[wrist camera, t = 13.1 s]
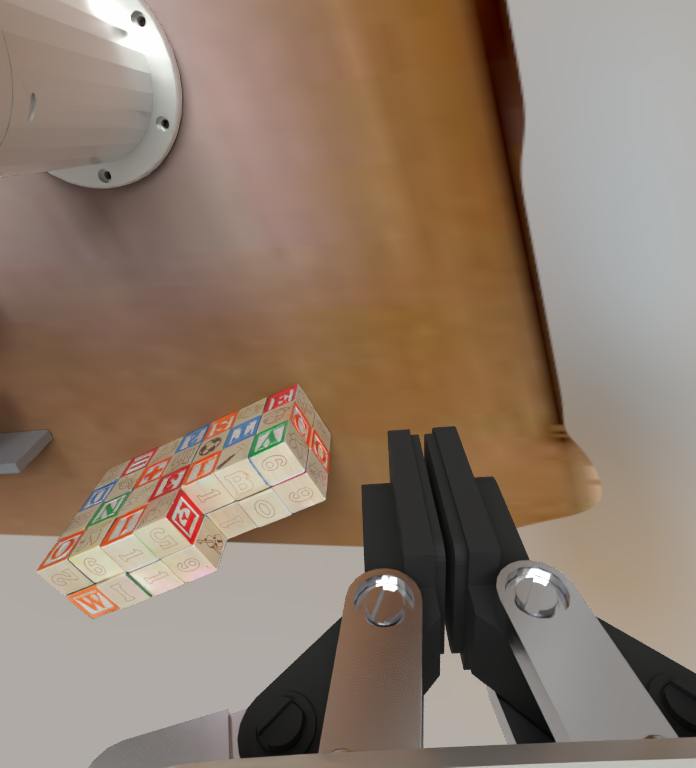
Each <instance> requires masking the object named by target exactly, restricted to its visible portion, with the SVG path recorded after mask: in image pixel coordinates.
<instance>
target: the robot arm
mask: <svg viewBox="0 0 696 768" xmlns="http://www.w3.org/2000/svg"><path fill="white" fill-rule="evenodd" d="M141 18H145V20H146V24H145V26H144V27H142V26H141V24H140V20H141ZM181 116H182V89H181V81H180V73H179V70H178V66H177V63H176V59H175V56H174V52H173V50H172V48H171V45H170V43H169V41H168V39H167V37H166V34H165V32H164V30H163V28H162V27H161V25H160V24H159V22H158V21H157V19H156V18H155V16H154V15H153V13H152V11H151V10H150V8H149V7H148V6H147V5H146V4H145V3H144V2H143V1H142V0H0V177H8V176H15V175H23V174H30V173H38V172H45V171H46V172H48V173H49V174H51V175H53V176H55V177H57V178H59V179H62V180H64V181H66V182H68V183H71V184H75V185H79V186H83V187H87V188H101V189H106V188H113V187H120V186H124V185H128V184H131V183H134V182H136V181H138V180H140V179H142V178H144V177H146V176H148V175H149V174H150V173H151V172H152V171H153V170H155V169H156V168H157V167H158V166H159V165H160V164H161V163H162V161H163V160H164V159H165V157H166V156H167V155H168V153H169V152H170V150H171V148H172V146H173V143H174V141H175V139H176V136H177V134H178V129H179V125H180V120H181ZM165 120H167V121H168V122H169V128H166V127H165V126H164V121H165ZM108 171H109V173H110V174H111V179H110V178H109V177H108V176H107V172H108ZM388 450H389V470H390V483H384V484H368V485H362V512H363V538H364V563H365V573H364V574H362V575H361V576H359V577H358V578H356V579H355V581H354V582H353V583H352V584H351V585H350V587H349V589H348V592H347V595H346V599H345V605H344V610H343V616H342V617H341V618H340V619H339V620H338V621H337V622H336V623H335V624H334V625H333V626H331V627H330V628H329V629H328V630H327V631H326V632H325V633H324V634H323V635H322V636H321V637H320V638H319V639H318V640H317V641H316V642H315V643H313V644H312V645H311V646H310V647H309V648H308V649H307V650H306V651H305V652H304V653H303V654H302V655H301V656H300V657H299V658H298V659H297V660H296V661H294V663H292V664H291V665H290V666H289V667H288V668H287V669H286V670H285V671H284V672H283V673H282V674H281V675H280V676H279V677H278V678H276V680H275V681H273V682H272V683H271V684H270V685H269V686H268V687H267V688H266V689H265V690H264V691H263V692H262V693H261V694H260V695H259V696H258V697H256V699H255V700H254V701H253V702H252V703H251V705H250V706H249V707H248V708H247V709H246V710H243V711H240V712H236V713H233V714H229V711H228V709H227V710H223V711H220V712H216V713H213V714H210V715H206V716H203V717H200V718H197V719H193V720H190V721H186V722H183V723H180V724H176V725H173V726H170V727H167V728H163V729H160V730H157V731H153V732H150V733H147V734H143V735H140V736H137V737H133V738H130V739H126V740H123V741H121V742H119V743H117V744H115V745H113V746H111V747H109V748H107V749H106V750H105V751H104V752H103V753H101V754H100V755H99V756H98V757H97V758H96V759H95V760H94V761H93V762H92V764H91V765H90V766H89V768H696V673H694V672H692V671H690V670H689V669H687V668H685V667H683V666H682V665H680V664H678V663H676V662H675V661H673V660H671V659H669V658H668V657H666V656H664V655H662V654H661V653H659V652H657V651H655V650H654V649H652V648H650V647H648V646H647V645H645V644H643V643H641V642H640V641H638V640H636V639H634V638H633V637H631V636H629V635H627V634H626V633H624V632H622V631H620V630H619V629H617V628H615V627H613V626H612V625H610V624H608V623H606V622H605V621H603V620H601V619H599V618H597V617H596V616H595V615H594V614H593V612H592V610H591V609H590V608H589V606H588V605H587V603H586V602H585V600H584V599H583V597H582V596H581V594H580V593H579V592H578V590H577V589H576V587H575V586H574V584H573V583H572V582H571V581H570V580H569V579H568V578H567V577H566V575H565V574H563V573H562V572H560V571H559V570H557V569H556V568H554V567H552V566H550V565H548V564H545V563H543V562H537V561H532V560H529V557H528V555H527V553H526V550H525V548H524V546H523V544H522V541H521V539H520V536H519V534H518V531H517V529H516V527H515V524H514V522H513V520H512V517H511V515H510V513H509V510H508V508H507V506H506V503H505V501H504V498H503V496H502V494H501V491H500V489H499V487H498V484H497V482H496V480H495V478H493V477H477V478H474V476H473V473H472V471H471V468H470V465H469V462H468V460H467V457H466V454H465V451H464V449H463V446H462V443H461V440H460V438H459V435H458V432H457V429H456V427H455V426H451V427H437V428H433V429H432V434H425V436H424V456H423V452H422V448H421V443H420V439H419V435H411V434H410V430H409V429H408V430H393V431H388ZM444 626H446V631H447V636H448V640H449V646H450V650H451V653H460V655H461V659H462V664H463V669H464V670H471V672H472V674H473V675H475V676H476V677H477V678H478V679H479V680H481V681H482V682H483V683H485V684H486V685H487V690H488V694H489V698H490V701H491V704H492V706H493V709H494V711H495V714H496V716H497V719H498V721H499V724H500V726H501V729H502V731H503V734H504V737H505V739H506V742H507V744H508V745H488V746H466V747H443V748H423V738H424V737H423V736H424V727H423V726H424V694H425V693H426V692H427V691H428V690H429V688H430V687H431V686H432V684H433V683H434V682H435V681H436V679H437V678H438V677H439V676H440V654H444V630H445V627H444Z"/></svg>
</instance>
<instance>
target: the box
mask: <svg viewBox="0 0 696 768" xmlns="http://www.w3.org/2000/svg"><path fill="white" fill-rule="evenodd" d="M52 439H53V438H52V436H51V433H50V431H49V430H37V431H23V432H9V433H0V474H10V473H20V472H21V471H22V470H23V469H24V468H25V467H26V466H27V465H28V464H29V463H30V462H31V461H32V460H33V459H34V458H35V457H36V456H37V455H38V454H39V453H40V452H41V451H42V450H43V448H44V447H45V446H46V445H47V444H48V443H49V442H50V441H51V440H52Z"/></svg>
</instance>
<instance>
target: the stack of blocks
mask: <svg viewBox="0 0 696 768" xmlns="http://www.w3.org/2000/svg"><path fill="white" fill-rule="evenodd" d="M330 437H331V435H330V432H329V431H328V430H327V428H326V426H325V425H324V423H323V422H322V420H321V418H320V417H319V415H318V414H317V412H316V411H315V409H314V407H313V405H312V404H311V402H310V400H309V399H308V397H307V396H306V394H305V393H304V391H303V390H302V389H301V387H300V386H299V385H298V384H296V385H294V386H292V387H290V388H287V389H285V390H283V391H281V392H279V393H277V394H275V395H273V396H270V397H269V398H264V399H262V400H260V401H257V402H255V403H253V404H251V405H249V406H247V407H244V408H242V409H241V410H238V411H236V412H233V413H231V414H229V415H227V416H224V417H222V418H220V419H218V420H216V421H213V422H212V423H211V424H209V425H206V426H204V427H202V428H200V429H198V430H196V431H193V432H191V433H189V434H187V435H185V436H183V437H181V438H179V439H176V440H174V441H172V442H170V443H168V444H166V445H163V446H161V447H159V448H155V449H153V450H151V451H148V452H146V453H144V454H142V455H140V456H137V457H135V458H133V459H131V460H128V461H126V462H124V463H121V464H119V465H117V466H115V467H113V468H110V469H109V470H107V472H106V473H105V474H104V476H103V478H102V479H101V480H100V482H99V483H98V484H97V486H96V487H95V489H94V491H93V492H92V494H91V495H90V496H89V498H88V499H87V501H86V502H85V504H84V505H83V506H82V508H81V509H80V510H79V512H78V513H77V514H76V515H75V516H74V518H73V519H72V521H71V522H70V523H69V525H68V526H67V528H66V529H65V530H64V532H63V533H62V535H61V536H60V537H59V539H58V542H57V543H56V545H55V546H54V547H53V548H52V550H51V551H50V553H49V554H48V555H47V557H46V559H45V560H44V561H43V562H42V564H41V565H40V567H39V568H38V570H37V573H38V574H39V575H40V576H41V577H43V578H44V579H45V580H46V581H47V582H48V583H50V584H51V585H52V586H53V587H54V588H55V589H56V590H57V591H59V592H60V593H61V594H62V595H63V596H64V595H67V596H66V597H67V599H68V600H69V601H71V602H72V603H73V604H74V605H76V606H77V607H78V608H79V609H80V610H82V611H83V612H84V613H85V614H87V615H88V616H89V617H90V618H92V619H94V618H97V617H99V616H102V615H104V614H107V613H110V612H113V611H115V610H118V609H120V608H121V609H125V608H127V607H130V606H133V605H135V604H137V603H140V602H143V601H145V600H147V599H150V598H151V597H152V596H158V595H160V594H162V593H165V592H167V591H170V590H172V589H175V588H177V587H180V586H182V585H183V584H184V583H188V582H191V581H193V580H196V579H198V578H201V577H203V576H206V575H208V574H210V573H213V572H216V571H217V570H218V567H219V564H220V561H221V558H222V555H223V551H224V548H225V545H226V542H227V540H228V539H230V538H233V537H235V536H238V535H240V534H243V533H245V532H248V531H250V530H253V529H255V528H257V527H262V526H265V525H267V524H270V523H272V522H275V521H277V520H280V519H282V518H285V517H287V516H290V515H292V513H295V512H298V511H300V510H303V509H305V508H308V507H310V506H313V505H315V504H318V503H320V502H323V501H325V500H326V492H327V480H328V479H327V478H328V475H329V463H330Z"/></svg>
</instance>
